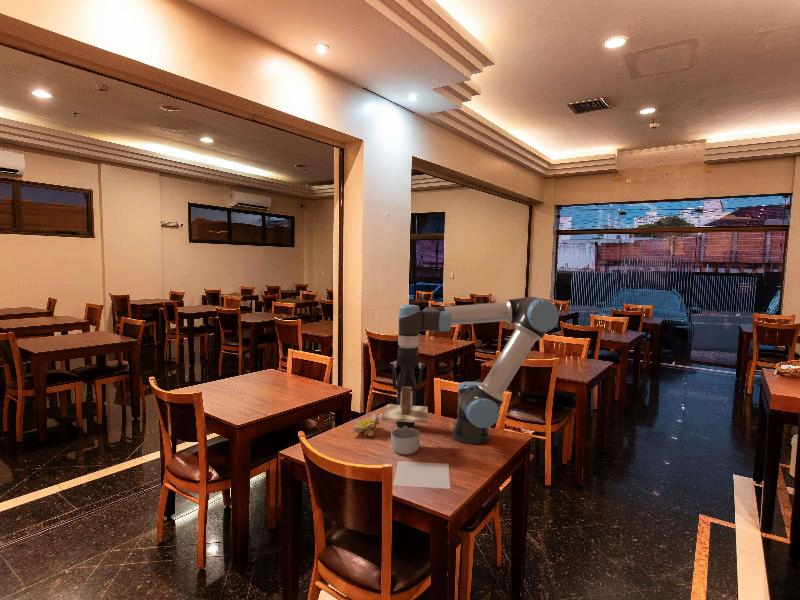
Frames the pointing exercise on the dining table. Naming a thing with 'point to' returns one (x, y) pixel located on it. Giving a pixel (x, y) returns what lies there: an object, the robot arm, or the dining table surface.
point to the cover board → (400, 417)
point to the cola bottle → (405, 383)
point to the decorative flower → (367, 424)
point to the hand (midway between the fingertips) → (406, 407)
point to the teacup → (405, 440)
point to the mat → (422, 475)
